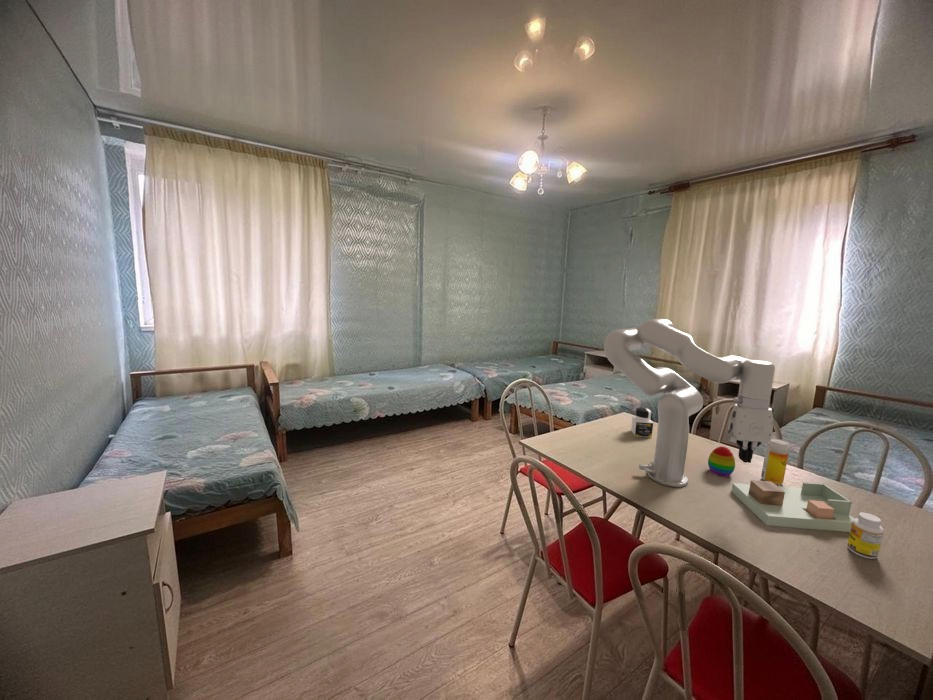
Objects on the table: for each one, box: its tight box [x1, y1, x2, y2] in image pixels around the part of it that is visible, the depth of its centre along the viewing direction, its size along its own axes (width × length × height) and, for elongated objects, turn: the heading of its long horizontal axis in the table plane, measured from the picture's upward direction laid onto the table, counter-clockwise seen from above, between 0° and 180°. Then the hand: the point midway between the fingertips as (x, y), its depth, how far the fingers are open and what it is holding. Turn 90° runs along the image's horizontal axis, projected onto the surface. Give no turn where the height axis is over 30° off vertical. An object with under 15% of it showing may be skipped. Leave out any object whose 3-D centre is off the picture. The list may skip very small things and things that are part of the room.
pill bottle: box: [760, 437, 791, 486], centre depth 133 cm, size 6×6×15 cm
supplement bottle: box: [847, 512, 885, 560], centre depth 98 cm, size 6×6×10 cm
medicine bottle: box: [630, 407, 654, 439], centre depth 173 cm, size 7×7×12 cm
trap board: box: [731, 481, 855, 533], centre depth 116 cm, size 24×18×7 cm
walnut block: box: [749, 479, 785, 506], centre depth 117 cm, size 6×6×4 cm
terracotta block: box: [806, 500, 834, 519], centre depth 111 cm, size 4×4×6 cm
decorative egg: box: [707, 446, 736, 477], centre depth 139 cm, size 8×8×10 cm
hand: (744, 460), depth 116 cm, fingers closed
